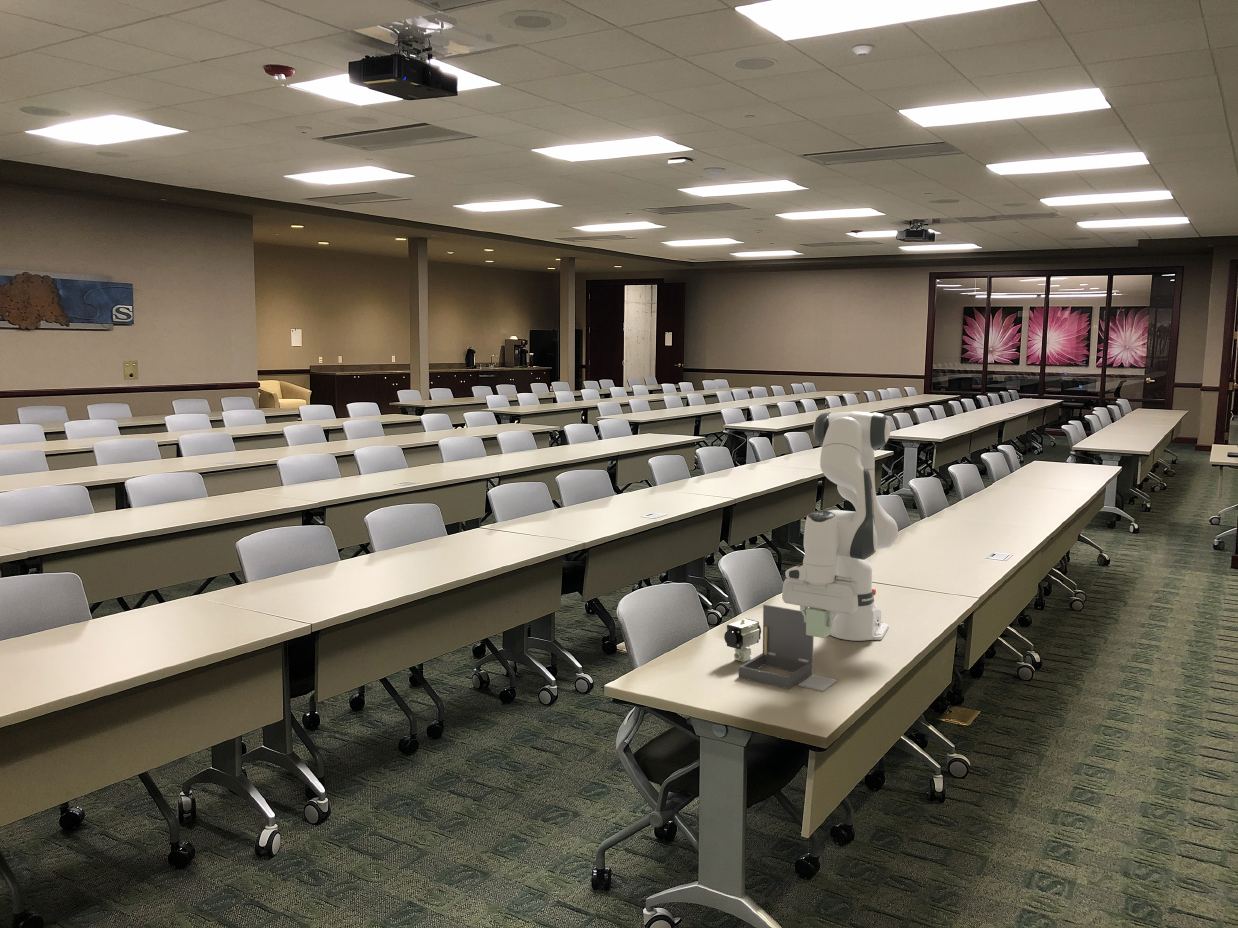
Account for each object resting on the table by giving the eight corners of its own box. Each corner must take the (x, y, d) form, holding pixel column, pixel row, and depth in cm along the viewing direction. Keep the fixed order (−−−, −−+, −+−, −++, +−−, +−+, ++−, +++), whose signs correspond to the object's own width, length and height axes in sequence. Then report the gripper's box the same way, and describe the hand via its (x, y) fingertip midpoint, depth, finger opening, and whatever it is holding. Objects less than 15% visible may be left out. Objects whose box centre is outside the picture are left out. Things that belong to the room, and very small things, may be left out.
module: (813, 630, 241) (814, 602, 240) (831, 633, 238) (832, 605, 237) (805, 634, 237) (806, 606, 236) (823, 638, 234) (824, 609, 233)
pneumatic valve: (723, 662, 256) (723, 622, 254) (748, 653, 264) (748, 613, 262) (738, 667, 252) (739, 626, 250) (763, 657, 260) (764, 617, 259)
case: (764, 662, 256) (765, 604, 254) (813, 672, 247) (814, 612, 245) (738, 677, 244) (739, 616, 242) (789, 689, 235) (790, 626, 233)
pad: (812, 676, 245) (812, 674, 245) (836, 681, 241) (837, 680, 241) (798, 685, 238) (798, 684, 238) (823, 691, 233) (823, 690, 233)
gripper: (862, 576, 232) (861, 628, 234) (790, 565, 244) (789, 615, 246) (853, 581, 227) (852, 634, 228) (779, 570, 239) (779, 620, 241)
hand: (819, 624), depth 237 cm, fingers closed on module, 5 cm apart
